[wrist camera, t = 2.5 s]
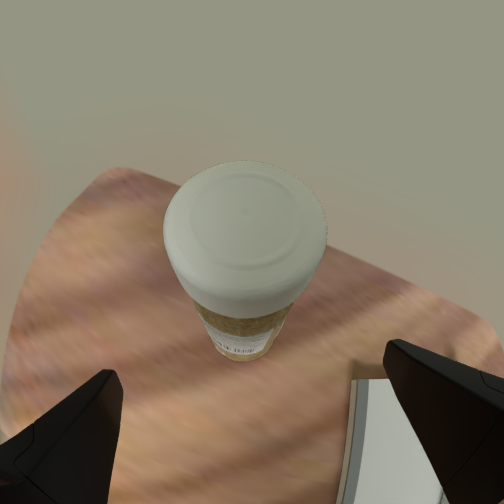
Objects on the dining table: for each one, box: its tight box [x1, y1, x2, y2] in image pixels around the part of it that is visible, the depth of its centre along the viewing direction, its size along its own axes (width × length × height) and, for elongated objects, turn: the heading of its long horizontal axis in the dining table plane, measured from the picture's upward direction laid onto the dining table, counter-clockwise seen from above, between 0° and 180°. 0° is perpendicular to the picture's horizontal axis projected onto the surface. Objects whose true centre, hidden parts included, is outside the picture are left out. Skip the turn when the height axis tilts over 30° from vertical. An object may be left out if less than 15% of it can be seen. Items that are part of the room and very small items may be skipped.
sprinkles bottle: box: [163, 161, 327, 361], centre depth 13 cm, size 5×5×13 cm
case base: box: [336, 379, 449, 504], centre depth 13 cm, size 14×10×2 cm
